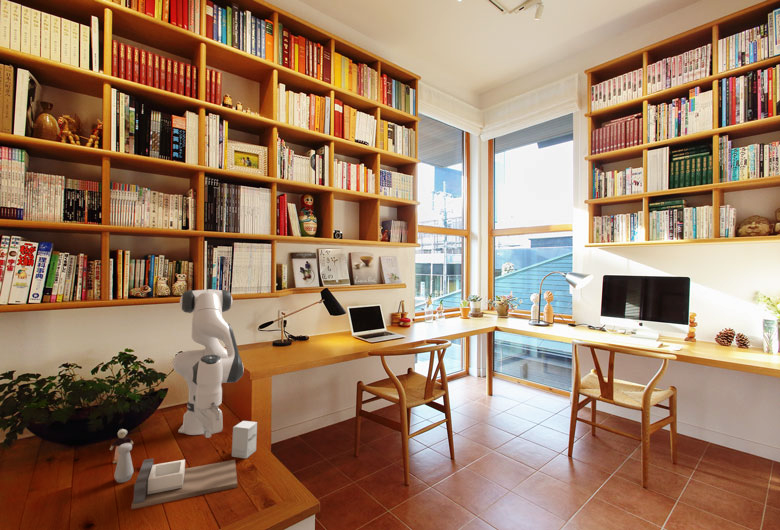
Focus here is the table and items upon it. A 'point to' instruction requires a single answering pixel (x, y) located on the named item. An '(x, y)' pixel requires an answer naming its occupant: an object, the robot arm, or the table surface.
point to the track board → (186, 483)
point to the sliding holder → (166, 476)
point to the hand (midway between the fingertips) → (207, 436)
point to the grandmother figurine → (119, 441)
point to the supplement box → (244, 439)
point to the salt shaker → (124, 463)
